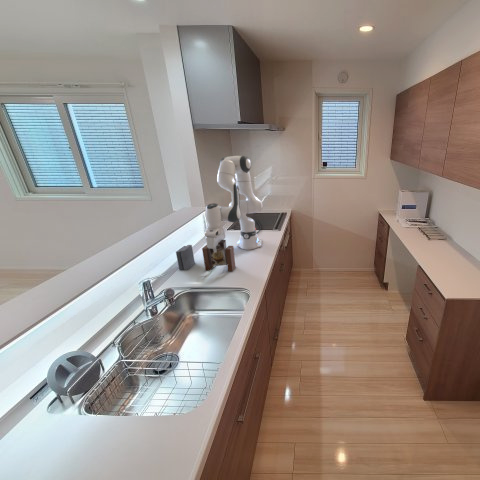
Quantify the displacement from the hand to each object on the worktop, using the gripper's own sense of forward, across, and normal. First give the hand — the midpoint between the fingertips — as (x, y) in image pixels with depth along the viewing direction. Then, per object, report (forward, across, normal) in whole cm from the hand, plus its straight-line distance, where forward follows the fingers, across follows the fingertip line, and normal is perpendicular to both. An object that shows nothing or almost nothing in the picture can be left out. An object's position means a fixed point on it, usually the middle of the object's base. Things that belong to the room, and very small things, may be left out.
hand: (218, 249), depth 161 cm
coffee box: (+10, 0, 0) cm, 11 cm away
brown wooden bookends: (+14, 0, 0) cm, 14 cm away
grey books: (+14, -2, -24) cm, 28 cm away
